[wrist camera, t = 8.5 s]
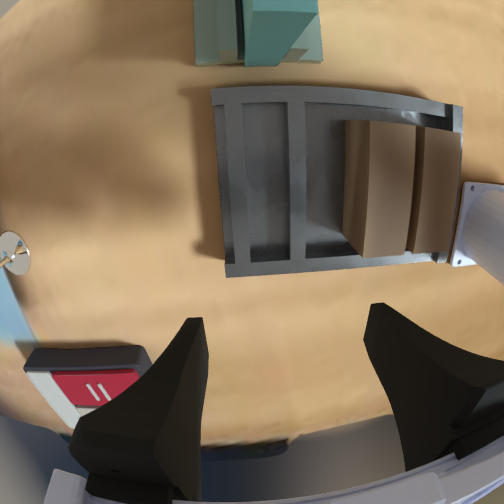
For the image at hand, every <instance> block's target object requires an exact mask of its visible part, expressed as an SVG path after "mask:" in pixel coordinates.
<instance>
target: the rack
mask: <svg viewBox="0 0 504 504" xmlns="http://www.w3.org/2000/svg"><path fill="white" fill-rule="evenodd" d="M211 100H212V106H214V118H215V133H216V148H217V162H218V175H219V188H220V200H221V212H222V224H223V235H224V246H225V273H226V278H230V277H246V276H261V275H275V274H289V273H302V272H315V271H327V270H339V269H351V268H362V267H373V266H384V265H395V264H405V263H415V262H425V261H435V262H436V263H445V262H446V261H447V257H448V252H449V247H450V242H451V237H452V232H453V226H454V220H455V214H456V207H457V199H458V191H459V182H460V171H461V158H462V136H463V107H461V106H457V105H453V104H445V103H441V102H436V101H432V100H427V99H422V98H416V97H411V96H405V95H399V94H392V93H385V92H378V91H370V90H361V89H350V88H338V87H322V86H243V87H227V88H215V89H211ZM345 120H368V121H380V122H390V123H399V124H407V125H415V126H421V127H429V128H435V129H441V130H447V131H452V132H458V133H461V142H460V161H459V174H458V184H457V193H456V201H455V208H454V215H453V221H452V227H451V233H450V239H449V244H448V249H447V251H444V252H433V253H421V254H412V253H411V252H410V251H409V250H408V249H407V248H405V254H404V255H398V256H386V257H374V258H362V257H361V256H360V255H359V254H358V252H357V251H356V250H355V249H354V248H353V246H352V245H351V244H350V243H349V242H348V241H347V239H346V238H345V237H344V236H343V235H342V226H343V207H344V179H345Z"/></svg>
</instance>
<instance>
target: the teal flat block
mask: <svg viewBox="0 0 504 504" xmlns="http://www.w3.org/2000/svg"><path fill="white" fill-rule="evenodd" d="M317 14H318V9H317V1H316V0H241V15H242V32H243V49H244V66H245V67H257V66H277V65H278V64H279V63H280V61H281V60H282V59H283V57H284V56H285V55H286V53H287V52H288V51H289V49H290V48H291V47H292V45H293V44H294V43H295V41H296V40H297V39H298V37H299V36H300V35H301V34H302V32H303V31H304V30H305V29H306V27H307V26H308V25H309V24H310V22H311V21H312V20H313V19H314V17H315V16H316V15H317Z"/></svg>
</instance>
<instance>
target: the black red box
mask: <svg viewBox="0 0 504 504" xmlns="http://www.w3.org/2000/svg"><path fill="white" fill-rule="evenodd" d="M152 365H153V364H152V362H151V360H150V358H149V356H148V354H147V352H146V350H145V348H144V347H143V346H140V345H136V346H119V347H99V348H83V349H67V350H60V349H58V348H35V349H34V350H33V352H32V353H31V355H30V357H29V358H28V360H27V362H26V363H25V365H24V367H23V369H24V371H25V372H26V374H27V376H28V377H29V378H30V380H31V381H32V383H33V384H34V385H35V387H36V388H37V389H38V391H39V392H40V393H41V394H42V396H43V397H44V398H45V399H46V401H47V402H48V403H49V404H50V406H51V407H52V408H53V409H54V410H55V412H56V413H57V414H58V415H59V416H60V417H61V418H62V420H63V421H64V422H65V423H66V424H67V425H68V426H69V427H70V428H75V426H76V424H77V422H78V420H79V418H80V417H81V416H83V415H85V414H87V413H89V412H91V411H93V410H95V409H97V408H99V407H101V406H102V405H104V404H106V403H107V402H109V401H110V400H112V399H114V398H115V397H116V396H118V395H119V394H121V393H122V392H123V391H125V390H126V389H127V388H128V387H130V386H131V385H132V384H133V383H134V382H136V381H137V380H138V379H139V378H140V377H141V376H142V375H143V374H144V373H145V372H146V371H147V370H148V369H149V368H150V367H151V366H152Z"/></svg>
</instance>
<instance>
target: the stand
mask: <svg viewBox="0 0 504 504" xmlns="http://www.w3.org/2000/svg"><path fill="white" fill-rule="evenodd" d="M316 1H317V9H318V0H316ZM193 11H194V45H195V64H196V66H197V67H198V66H208V65H219V64H233V63H244V49H243V32H242V15H241V0H193ZM322 61H323V53H322V40H321V29H320V19H319V9H318V14H317V15H316V16H315V17H314V19H313V20H312V21H311V22H310V24H309V25H308V26H307V27H306V29H305V30H304V31H303V32H302V34H301V35H300V36H299V37H298V39H297V40H296V41H295V43H294V44H293V45H292V47H291V48H290V49H289V51H288V52H287V53H286V55H285V56H284V57H283V59H282V60H281V61H280V62H297V63H321V62H322Z"/></svg>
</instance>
